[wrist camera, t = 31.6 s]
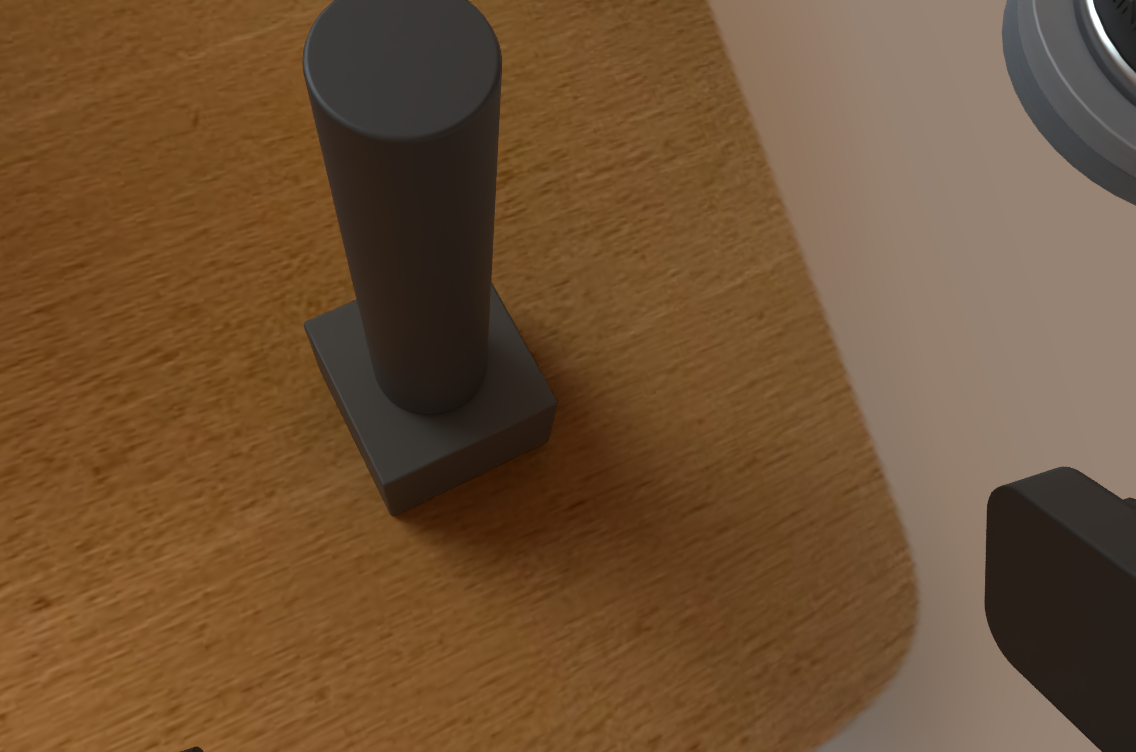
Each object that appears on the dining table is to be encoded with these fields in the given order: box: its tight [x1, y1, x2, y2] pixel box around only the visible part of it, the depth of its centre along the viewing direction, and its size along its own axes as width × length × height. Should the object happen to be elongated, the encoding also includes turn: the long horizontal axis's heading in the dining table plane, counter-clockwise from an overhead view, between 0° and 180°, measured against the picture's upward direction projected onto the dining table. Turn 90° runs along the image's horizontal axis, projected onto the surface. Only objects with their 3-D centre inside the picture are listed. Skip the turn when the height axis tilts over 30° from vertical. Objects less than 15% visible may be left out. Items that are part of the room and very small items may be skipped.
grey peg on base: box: [303, 0, 558, 516], centre depth 20 cm, size 4×4×14 cm
